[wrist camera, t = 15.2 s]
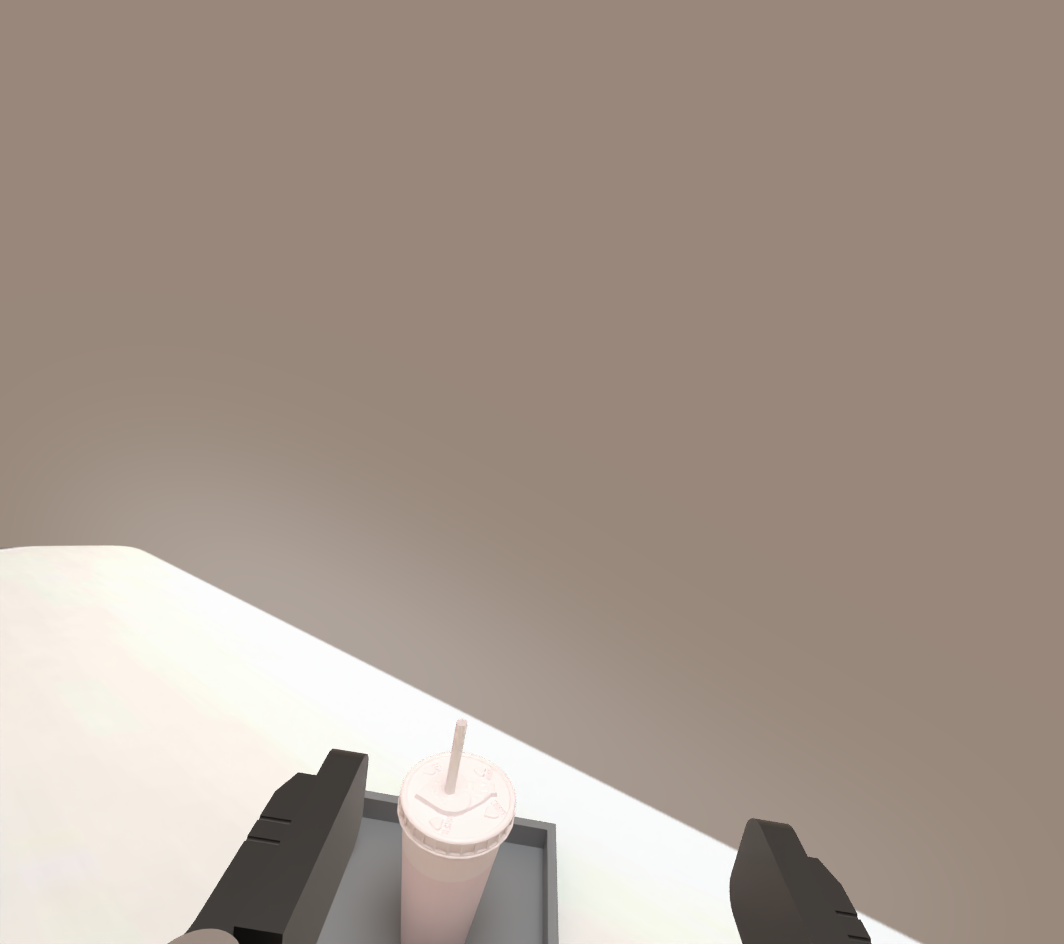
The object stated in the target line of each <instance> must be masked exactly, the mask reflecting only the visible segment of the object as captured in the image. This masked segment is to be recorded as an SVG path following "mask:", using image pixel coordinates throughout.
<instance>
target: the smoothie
mask: <svg viewBox="0 0 1064 944" xmlns="http://www.w3.org/2000/svg"><path fill="white" fill-rule="evenodd" d="M466 728H467V721H466V720H465V719H459V720H457V724H456V729H455V735H454V741H453V746H452V752H446V753H439V754H436V755H432V756H430V757H427V758H425V759H423V760H422V761H420V762H419V763H417V764H416V765H415V766H414V767H413V768H411V770H410V771H409V772H408V773H407V775H406V776H405V778H404V780H403V783H402V786H401V791H400V796H399V798H398V807H397V813H398V817H399V822H400V825H401V827H402V882H401V944H464V943H465V940H466V938H467V935H468V932H469V929H470V926H471V924H472V921H473V918H474V915H475V913H476V910H477V907H478V904H479V901H480V899H481V896H482V893H483V890H484V888H485V885H486V882H487V879H488V876H489V874H490V871H491V868H492V865H493V862H494V860H495V857H496V855H497V852H498V849H499V846H500V844H501V843H502V842H503V841H504V840H505V839H507V837H508V835H509V833H510V831H511V829H512V827H513V823H514V817H515V808H516V795H515V790H514V788H513V785H512V783H511V781H510V780H509V778H508V777H507V775H506V774H505V773H504V772H503V771H502V770H501V769H500V768H499V767H498V766H496V765H495V764H494V763H492V762H491V761H489V760H487V759H485V758H483V757H480V756H477V755H474V754H470V753H464V752H462V749H463V744H464V739H465V733H466Z"/></svg>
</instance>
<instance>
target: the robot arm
mask: <svg viewBox="0 0 1064 944" xmlns="http://www.w3.org/2000/svg"><path fill="white" fill-rule="evenodd" d="M367 769H368V754H363V753H357V752H351V751H345V750H338V749H332V750H331V751H330V752H329V754H328V755H327V757H326V759H325V761H324V763H323V764H322V766H321V768H320V770H319V772H318V774H317V775H311V774H304V773H297V774H296V775H295V776H293V777H292V778H291V779H290V780H289V781H287V782H286V783H285V784H284V785H282V786H281V787H280V788H279V789H278V790H276V791H275V793H274V794H273V796H272V798H271V799H270V801H269V802H268V804H267V806H266V807H265V809H264V810H263V812H262V814H261V815H260V819H259V820H257V822H256V823H255V825H254V826H253V828H252V830H251V831H250V833H249V834H248V837H247V840H246V841H244V842H243V844H242V846H241V847H240V849H239V850H238V852H237V854H236V855H235V857H234V859H233V860H232V862H231V863H230V865H229V867H228V868H227V870H226V871H225V873H224V875H223V876H222V878H221V879H220V881H219V883H218V884H217V886H216V887H215V889H214V891H213V892H212V894H211V895H210V897H209V899H208V900H207V902H206V903H205V905H204V907H203V908H202V910H201V912H200V913H199V915H198V916H197V918H196V920H195V921H194V922H193V924H192V925H191V927H190V928H189V929H188V930H187V932H186V933H185V934H184V935H182V936H180V937H178V938H176V939H174V940H173V941H171V942H170V943H168V944H316V943H317V941H318V938H319V936H320V933H321V931H322V928H323V926H324V923H325V921H326V918H327V915H328V913H329V910H330V908H331V905H332V903H333V900H334V898H335V895H336V893H337V890H338V887H339V885H340V882H341V880H342V877H343V875H344V872H345V870H346V867H347V865H348V862H349V860H350V857H351V854H352V852H353V849H354V846H355V843H356V840H357V837H358V833H359V829H360V825H361V820H362V814H363V805H364V796H365V787H366V778H367ZM730 902H731V908H732V912H733V916H734V919H735V922H736V925H737V928H738V931H739V934H740V937H741V940H742V943H743V944H871V938H870V936H869V934H868V933H867V931H866V929H865V927H864V925H863V923H862V922H861V920H858V918H857V913H856V911H855V909H854V907H853V905H852V903H851V902H850V900H849V898H848V896H847V895H846V892H845V891H844V889H843V887H842V885H841V884H840V883H839V882H838V881H837V879H836V878H835V877H834V876H833V875H832V874H831V873H830V872H829V871H828V869H827V868H826V867H825V866H824V865H823V864H822V863H821V862H820V861H819V859H817V858H812V857H807V854H806V853H805V851H804V849H803V847H802V845H801V843H800V841H799V839H798V837H797V835H796V833H795V831H794V830H793V828H792V827H791V826H790V825H788V824H784V823H778V822H772V821H766V820H760V819H753V818H752V819H750V820H749V821H748V822H747V824H746V827H745V831H744V834H743V837H742V840H741V843H740V847H739V850H738V853H737V857H736V860H735V863H734V867H733V870H732V873H731V878H730Z"/></svg>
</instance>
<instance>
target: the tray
mask: <svg viewBox="0 0 1064 944" xmlns="http://www.w3.org/2000/svg"><path fill="white" fill-rule="evenodd" d="M398 798H399V796H393V795H388V794H382V793H376V792H371V791H365V796H364V805H363V814H362V820H361V825H360V829H359V833H358V837H357V840H356V843H355V846H354V849H353V852H352V854H351V857H350V860H349V862H348V865H347V867H346V870H345V872H344V875H343V877H342V880H341V882H340V885H339V887H338V890H337V893H336V895H335V898H334V900H333V903H332V905H331V908H330V910H329V913H328V915H327V918H326V921H325V923H324V926H323V928H322V931H321V933H320V936H319V938H318V941H317V943H316V944H401V882H402V827H401V825H400V822H399V817H398V813H397V807H398ZM464 944H559V941H558V900H557V859H556V824H552V823H547V822H541V821H535V820H530V819H524V818H518V817H514V823H513V827H512V829H511V831H510V833H509V835H508V837H507V839H505V840H504V841H503V842H502V843H501V844H500V846H499V849H498V852H497V855H496V857H495V860H494V862H493V865H492V868H491V871H490V874H489V876H488V879H487V882H486V885H485V888H484V890H483V893H482V896H481V899H480V901H479V904H478V907H477V910H476V913H475V915H474V918H473V921H472V924H471V926H470V929H469V932H468V935H467V938H466V940H465V943H464Z"/></svg>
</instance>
